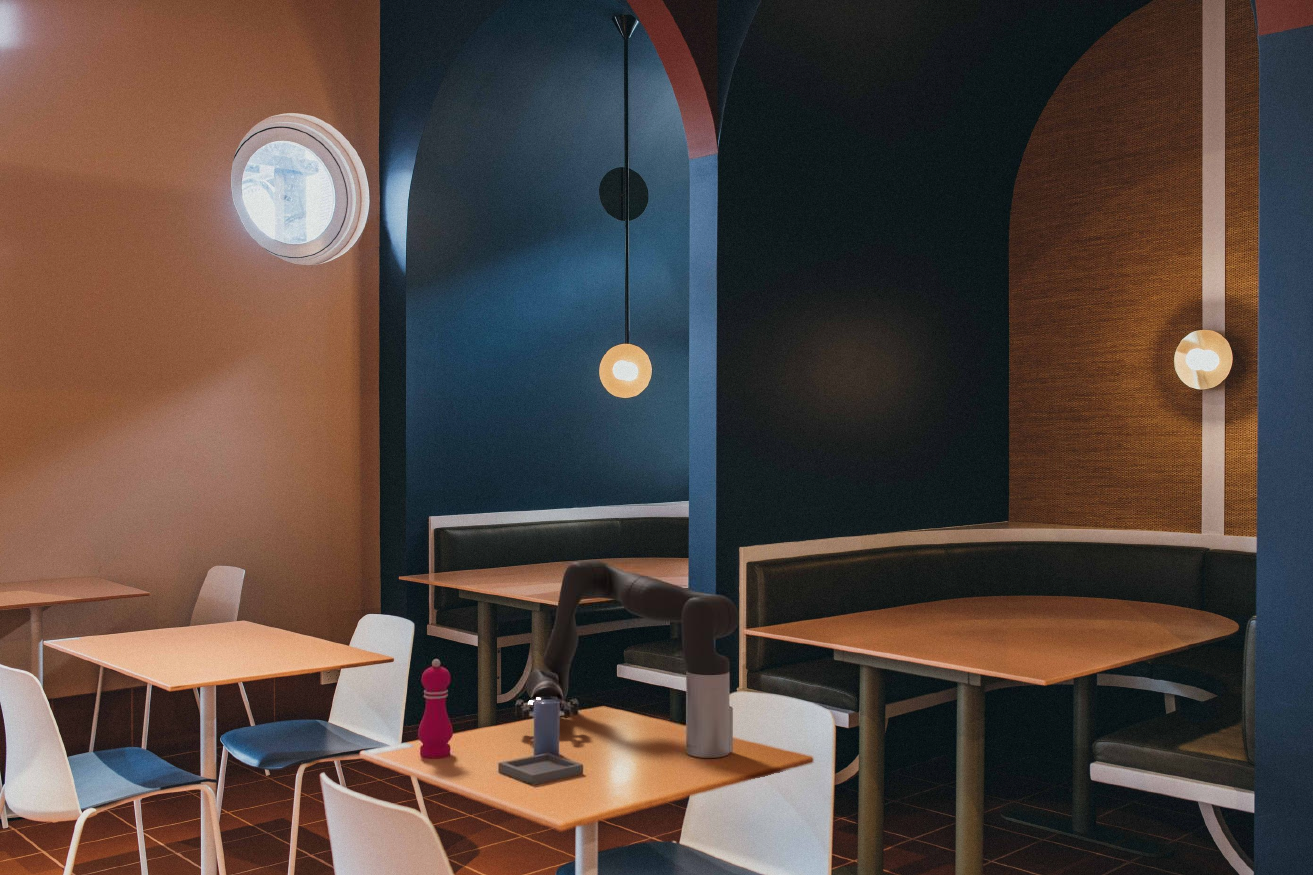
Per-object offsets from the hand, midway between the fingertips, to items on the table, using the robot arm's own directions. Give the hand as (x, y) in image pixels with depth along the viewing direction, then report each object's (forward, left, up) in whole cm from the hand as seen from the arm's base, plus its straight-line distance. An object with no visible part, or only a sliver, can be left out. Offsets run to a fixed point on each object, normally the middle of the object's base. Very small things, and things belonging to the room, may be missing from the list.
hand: (546, 714), depth 239 cm
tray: (+15, +20, -6) cm, 26 cm away
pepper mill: (+24, -6, -6) cm, 26 cm away
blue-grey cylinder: (+6, +9, -6) cm, 13 cm away
